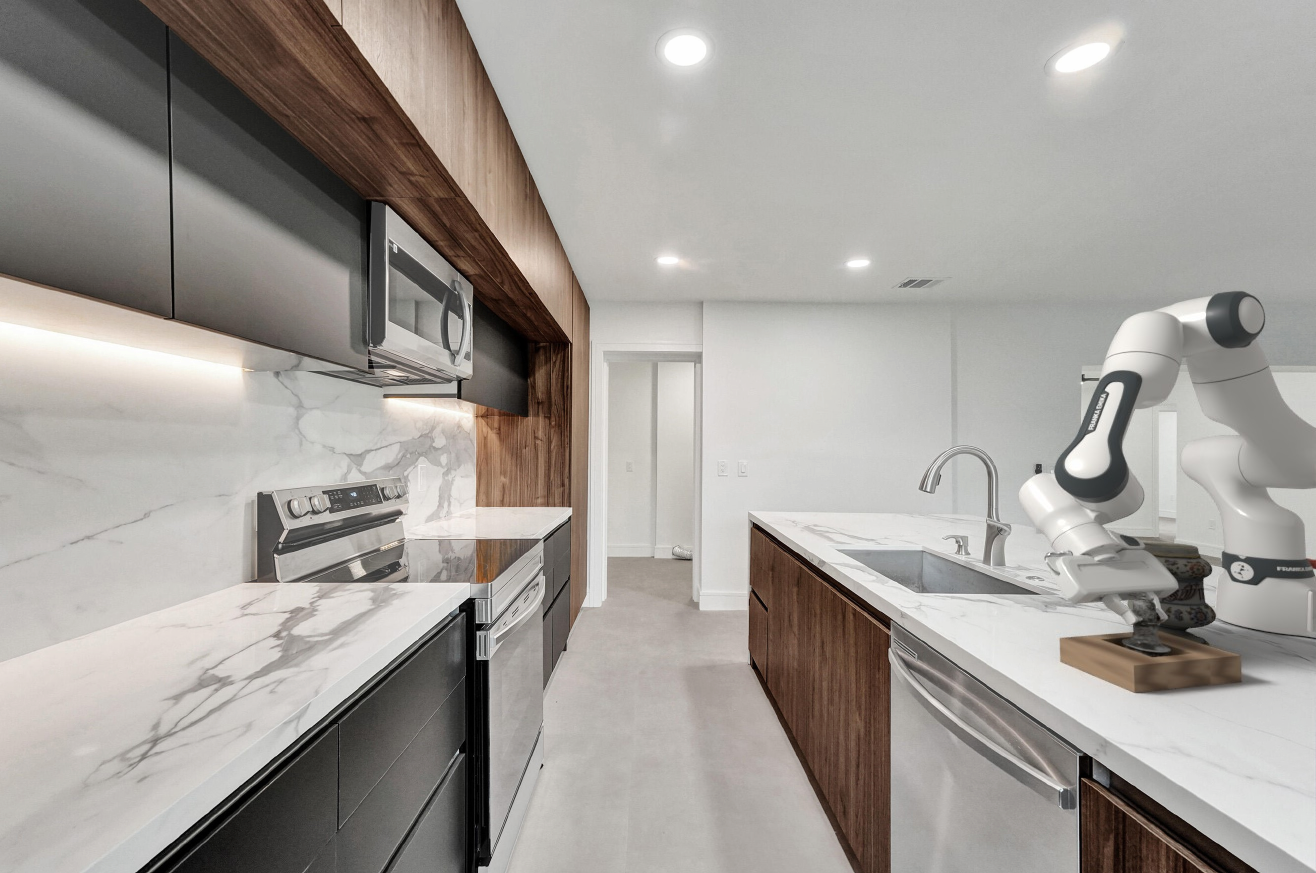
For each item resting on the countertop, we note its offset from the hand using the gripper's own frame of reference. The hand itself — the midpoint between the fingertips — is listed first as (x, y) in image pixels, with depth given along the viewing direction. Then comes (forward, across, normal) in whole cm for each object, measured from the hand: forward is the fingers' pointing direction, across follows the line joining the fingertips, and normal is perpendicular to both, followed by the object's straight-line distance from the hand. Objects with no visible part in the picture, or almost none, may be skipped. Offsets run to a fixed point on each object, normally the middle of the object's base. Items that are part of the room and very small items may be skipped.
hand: (1149, 621), depth 86 cm
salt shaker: (+5, 0, +6) cm, 8 cm away
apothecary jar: (-2, +20, +14) cm, 24 cm away
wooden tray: (+5, 0, +6) cm, 8 cm away
